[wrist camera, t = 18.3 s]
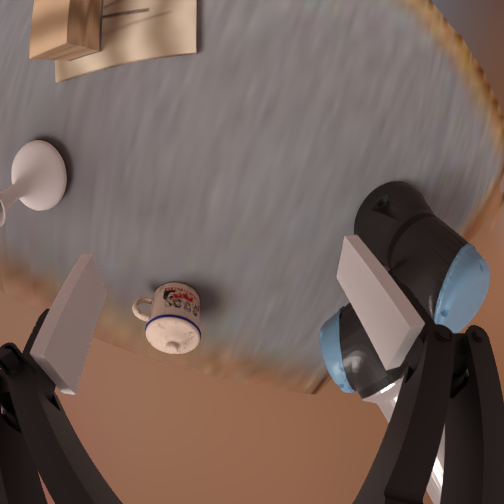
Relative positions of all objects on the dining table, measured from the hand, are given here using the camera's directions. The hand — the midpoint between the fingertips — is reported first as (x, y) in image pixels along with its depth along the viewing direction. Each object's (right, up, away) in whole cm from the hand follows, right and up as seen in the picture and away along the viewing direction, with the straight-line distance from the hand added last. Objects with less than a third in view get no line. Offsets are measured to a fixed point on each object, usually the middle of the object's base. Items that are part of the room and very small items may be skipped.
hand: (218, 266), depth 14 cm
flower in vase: (-31, +13, +20) cm, 39 cm away
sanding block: (-20, +30, +8) cm, 37 cm away
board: (-15, +31, +10) cm, 36 cm away
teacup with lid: (-13, -7, +35) cm, 38 cm away
